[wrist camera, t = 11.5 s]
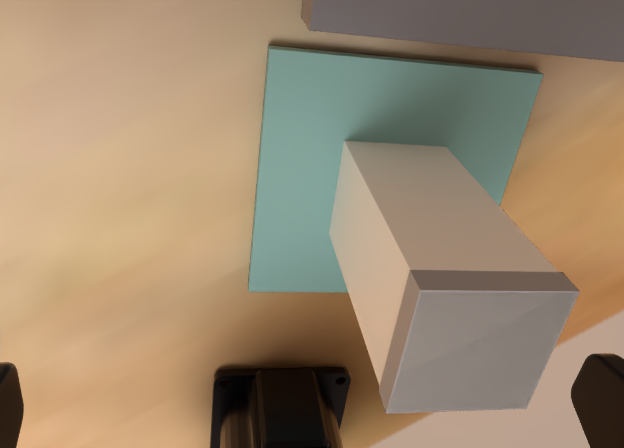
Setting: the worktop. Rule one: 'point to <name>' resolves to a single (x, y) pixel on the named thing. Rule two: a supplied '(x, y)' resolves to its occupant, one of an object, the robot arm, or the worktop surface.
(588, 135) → the worktop surface
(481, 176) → the teal mat
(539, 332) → the beige grey rectangular block
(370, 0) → the grey panel
